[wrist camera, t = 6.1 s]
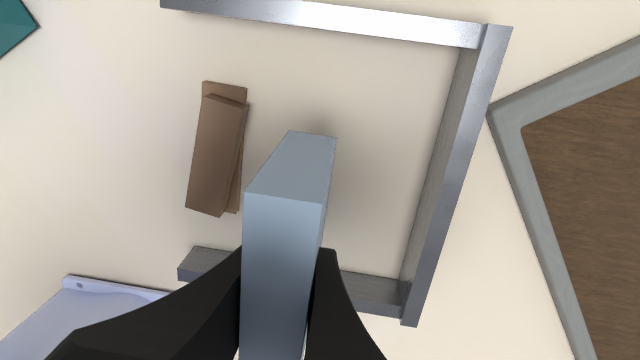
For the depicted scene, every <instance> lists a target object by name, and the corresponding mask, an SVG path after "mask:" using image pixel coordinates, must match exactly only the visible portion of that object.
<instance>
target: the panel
mask: <svg viewBox="0 0 640 360" xmlns="http://www.w3.org/2000/svg"><path fill="white" fill-rule="evenodd" d="M336 140H337V138H336V137H329V136H323V135H316V134H309V133H302V132H296V131H289V132H288V133H287V134H286V136H285V137H284V138H283V140H282V141H281V142H280V144H279V145H278V146H277V148H276V149H275V150H274V152H273V153H272V154H271V156H270V157H269V158H268V160H267V161H266V162H265V164H264V165H263V166H262V168H261V169H260V171H259V172H258V173H257V175H256V176H255V177H254V179H253V180H252V181H251V183H250V184H249V185H248V187H247V188H246V189H245V191H244V196H243V229H242V262H241V295H240V328H239V360H303V356H304V350H305V344H306V336H307V323H308V315H309V308H310V301H311V294H312V287H313V280H314V273H315V266H316V260H317V255H318V250H319V247H321V242H322V235H323V229H324V222H325V215H326V208H327V201H328V194H329V188H330V181H331V174H332V167H333V160H334V153H335V146H336Z"/></svg>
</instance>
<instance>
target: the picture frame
mask: <svg viewBox="0 0 640 360" xmlns="http://www.w3.org/2000/svg"><path fill="white" fill-rule="evenodd" d="M485 116H486V119H487V122H488V125H489V128H490V130H491V133H492V136H493V138H494V141H495V144H496V146H497V149H498V152H499V155H500V157H501V160H502V163H503V165H504V168H505V171H506V173H507V176H508V179H509V182H510V184H511V187H512V190H513V192H514V195H515V198H516V200H517V203H518V206H519V209H520V211H521V214H522V217H523V219H524V222H525V225H526V227H527V230H528V233H529V236H530V238H531V241H532V244H533V246H534V249H535V252H536V254H537V257H538V260H539V263H540V265H541V268H542V271H543V273H544V276H545V279H546V281H547V284H548V287H549V290H550V292H551V295H552V298H553V300H554V303H555V306H556V308H557V311H558V314H559V317H560V319H561V322H562V325H563V327H564V330H565V333H566V335H567V338H568V341H569V344H570V346H571V349H572V352H573V354H574V357H575V360H640V35H639V36H637V37H635V38H633V39H631V40H629V41H626V42H624V43H622V44H620V45H618V46H616V47H613V48H611V49H609V50H607V51H605V52H602V53H600V54H598V55H596V56H594V57H592V58H589V59H587V60H585V61H583V62H581V63H579V64H576V65H574V66H572V67H570V68H568V69H566V70H563V71H561V72H559V73H557V74H555V75H552V76H550V77H548V78H546V79H544V80H542V81H539V82H537V83H535V84H533V85H531V86H529V87H526V88H524V89H522V90H520V91H518V92H516V93H513V94H511V95H509V96H507V97H505V98H502V99H500V100H498V101H496V102H494V103H492V104H490V105H488V108H487V111H486V114H485Z"/></svg>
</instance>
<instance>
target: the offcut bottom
mask: <svg viewBox="0 0 640 360" xmlns="http://www.w3.org/2000/svg"><path fill="white" fill-rule="evenodd" d="M210 93H213V94H216V95H219V96H222V97H225V98H228V99H231V100H234V101H237V102H240V103H243V104H246V98H247V88H244V87H238V86H233V85H227V84H222V83H216V82H211V81H203V82H202V96H205V95H207V94H210ZM244 126H245V125H244ZM243 140H244V130H243V134H242V139H241V143H240V148H239V152H238V157H237V161H236V166H235V171H234V175H233V180H232V184H231V189H230V193H229V198H228V202H227V207H226V210H225V211H224V212H228V213H233V214H236V213H237V211H238V210H239V197H240V183H241V169H242V155H243Z"/></svg>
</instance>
